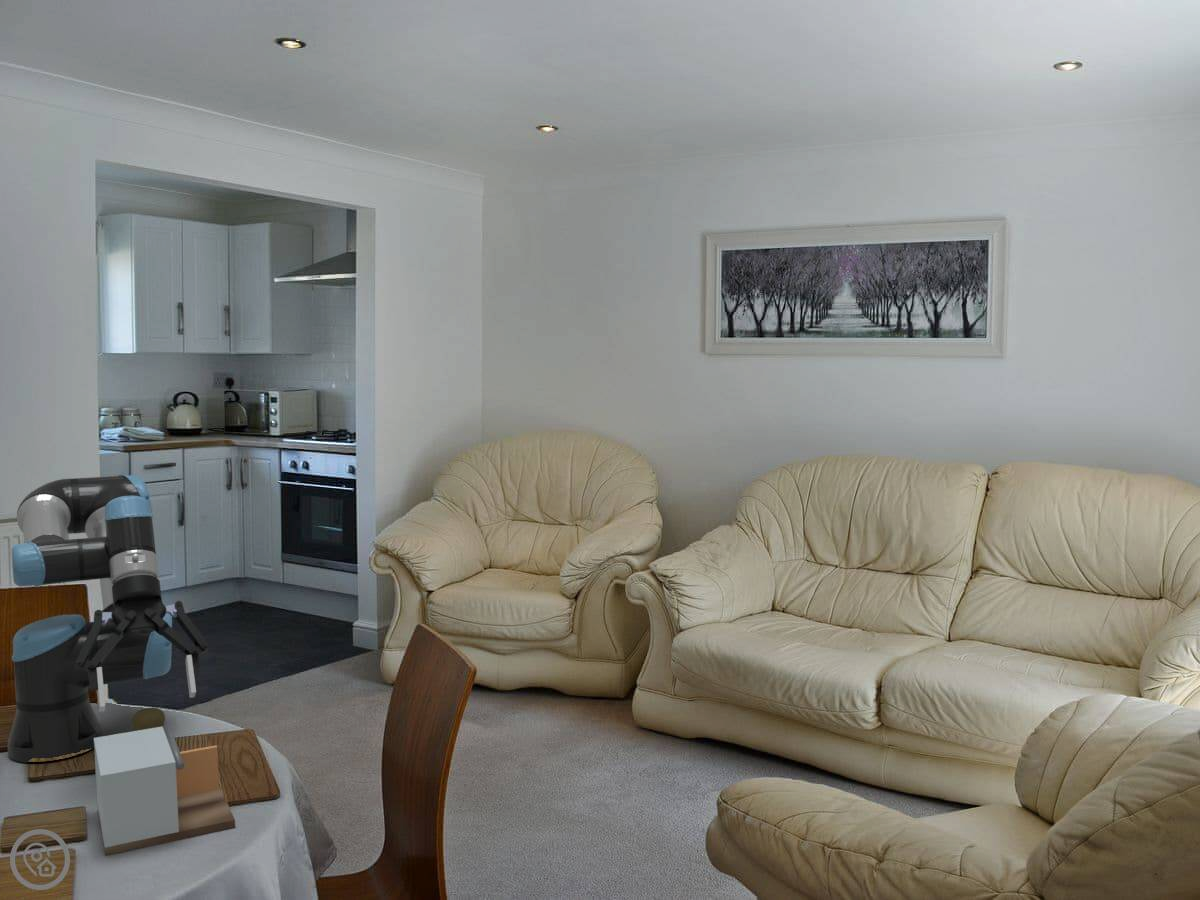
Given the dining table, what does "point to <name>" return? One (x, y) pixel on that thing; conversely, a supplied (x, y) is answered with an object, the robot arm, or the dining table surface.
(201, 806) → the walnut board
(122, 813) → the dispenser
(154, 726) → the olive brown ellipsoid
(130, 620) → the robot arm
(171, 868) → the dining table surface
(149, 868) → the dining table surface
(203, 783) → the orange rectangular panel
